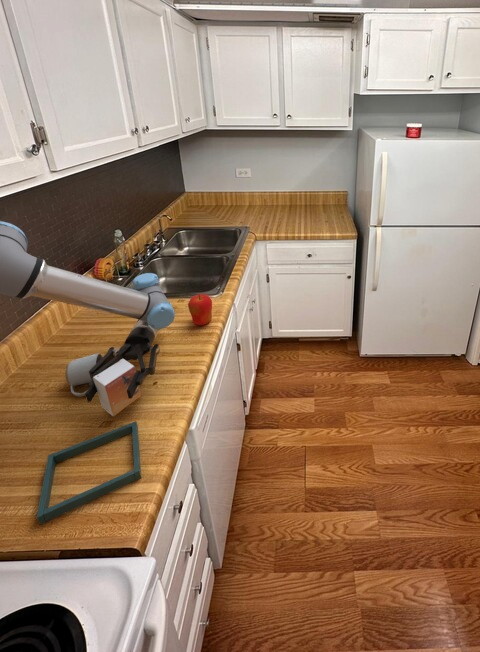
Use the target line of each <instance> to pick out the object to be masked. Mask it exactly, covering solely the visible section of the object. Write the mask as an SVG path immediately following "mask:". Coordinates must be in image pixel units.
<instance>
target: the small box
mask: <svg viewBox="0 0 480 652" xmlns="http://www.w3.org/2000/svg"><path fill="white" fill-rule="evenodd" d="M136 371H137V369H136V366H135V365H134V364H132V363H130V361H126V360H125V359H121V360H120V361H119V362H117V363H115V364H114V365H112V366H111V367H109V368H108V369H106V370H104V371H103V372H101V373H99V374H98V375H96V376H94V377H93V380H94V383H95V386H96V389H97V393H96V394H97V395H98V399H99V402H100V403H99V404H100V405H101V408H102V409H104V410H105V411H106V412H107V413H108V414H109V415H111V417H115V416H116V415H117V414H119V413H121V411H123V410H124V409H125V408H127V407H128V406H129V405H131V404H132V403H134V402H135V401H137V399H139V398H141V397H142V390H141V387H140V386H141V385H140V386H138V387H137V389H136V391H135V393H134V395H133V397H132V398H130V399H129V398H128V394H127V389H128V387H129V385H130V383H131V381H132V379H133V377H134V375H135V373H136Z"/></svg>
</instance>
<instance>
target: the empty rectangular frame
mask: <svg viewBox="0 0 480 652" xmlns="http://www.w3.org/2000/svg"><path fill="white" fill-rule="evenodd" d="M137 422H138V421H137V420H135V421H133V422H130V423H128V424H125V425H123V426H120V427H117V428H114V429H112V430H110V431H107V432H103V433H102V434H99V435H97V436H95V437H92V438H89V439H87V440H83V441H82V442H81V441H80V442H78V443H76V444H74V445H71V446H68V447H66V448H63V449H60V450H58V451H55V452H53V453H50V454H48V455H47V461H46V464H45V465H46V466H45V471H44V476H43V482H42V486H41V492H40V498H39V504H38V507H37V512H36V513H37V514H36V520H37V522H38V524H39V525H42V524H45V523H47V522H49V521H51V520H54V519H55V518H57V517H60V516H62V515H64V514H66V513H69V512H70V511H73V510H75V509H77V508H79V507H81V506H84V505H86V504H87V503H90V502H93V501H94V500H96V499H98V498H100V497H103V496H105V495H108V494H110V493H112V492H113V491H116V490H118V489H120V488H123V487H124V486H127V485H129V484H131V483H133V482H135V481H138V480H140V479H142V468H141V452H140V451H141V450H140V441H139V440H140V437H139V435H140V434H139V426H138V423H137ZM130 434H132V451H133V452H132V453H133V469H132V470H130V471H127V472H125V473H123V474H120V475H119V476H117V477H114V478H112V479H110V480H107V481H105V482H103V483H101V484H99V485H96V486H94V487H92V488H90V489H88V490H85V491H83V492H81V493H78V494H76V495H74V496H73V497H72V496H71V497H70V498H68V499H65V500H62V501H61V502H59V503H56V504H53V505H52V506H50V501H51V495H52V489H53V483H54V477H55V470H56V464H58V463H60V462H63V461H66V460H68V459H70V458H73V457H75V456H77V455H81V454H83V453H85V452H87V451H90V450H93V449H95V448H98V447H100V446H102V445H105V444H107V443H110V442H112V441H115V440H118V439H120V438H122V437H125V436H127V435H130Z"/></svg>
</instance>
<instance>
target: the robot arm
mask: <svg viewBox="0 0 480 652" xmlns="http://www.w3.org/2000/svg"><path fill="white" fill-rule="evenodd" d="M28 248H29V240H28V238H27V236H26V234H25V232H23V229H21V228H19V227H18V226H16V225H14V224H13V223H10V222H6V221H2V220H0V295H4V296H8V297H12V298H18V299H22V300H23V299H24V300H25V299H27V298H29V297H35V298H40V299H44V300H48V301H53V302H59V303H62V304H67V305H72V306H76V307H81V308H86V309H89V310H94V311H99V312H104V313H108V314H113V315H117V316H121V317H126V318H131V319H134V320H135V319H136V320H137V321H136V322H135V324H134V326H133V327H132V329H131V331H130V332H129V334H128V335H127V336H126V338H125V340H124V343H123V345H121V346H120V347H119V348H115V347H114V346H110V347H109V349H108V350H107V352H106V353H105V354H104V355H103V356H102V357H103V358H102V359H101V360H100V361H99V362H98V363H97V364H96V365H95V366H94V367H93V368H92V369H91V370H90V371H89V374H90V377H91V379H92V380H91V381H90V383H88V388H87V390H86V391H87V392H86V393H85V398H86V402H87V403H91V402H92V401H93V399H94V398H95V396H96V395H97V394H98V393H97V389H96V386H95V383H94V380H93V377H94V376H96V375H98V374H99V373H101V372H103V371H104V370H106V369H108V368H109V367H111V366H112V365H114V364H115V363H117V362H119V361H120V360H121V359H125V360H126V361H128V362H130V361H138V365H139V369H140V370H136V373H135V375H134V377H133V379H132V381H131V383H130V385H129V387H128V389H127V394H128V398H129V399H130V398H132V397H133V395H134V393H135V391H136V389H137V387H138V386H141V385H143V383H144V380H145V379H146V377H148V376H149V375H150V376H153V375H155V373H156V365H157V357H158V355H159V353H160V346H159V343H155V344H154V342H155V341H156V338H157V337H158V334H159V333H160V330H164V329H166V328H168V327H169V326H170V325H172V324H173V322H174V320H175V319H176V311H175V310H174V307H173V304H172V303H171V302H170V301H169V299H168V298H167V296H166V295H165V293H164V291H163V290H162V288H161V284H160V279H159V277H158V274H156V273H153V272H147V273H142V274H139V275H137V276H135V278H134V279H133V280H132V286H133V288H129V287H125V286H122V285H118V284H115V283H111V282H108V281H104V280H101V279H97V278H94V277H90V276H87V275H84V274H80V273H77V272H72V271H70V270H66V269H62V268H59V267H55V266H51V265H48V264H47V262H46V260H45V259H43V258H39V257H37V256H33V255H31V254H29V253H27V250H28ZM153 344H154V345H153ZM148 353H150V354H149V361H148V366H147V367H146V364H145V360H144V356H145V355H147V354H148Z"/></svg>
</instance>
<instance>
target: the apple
mask: <svg viewBox="0 0 480 652" xmlns="http://www.w3.org/2000/svg"><path fill="white" fill-rule="evenodd" d="M187 308H188V311H189V313H190V316H191V321H192V322H193V324H195V325H197V326H205V325H207V324H209V323H210V321H212V318H213V314H212V313H213V300H212V298H211V296H209V295H208V294H202V293H200V294H196V295H193V296H192V297H190V299H189V301H188V303H187ZM208 322H209V323H208ZM206 323H207V324H206ZM204 324H205V325H204Z"/></svg>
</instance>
